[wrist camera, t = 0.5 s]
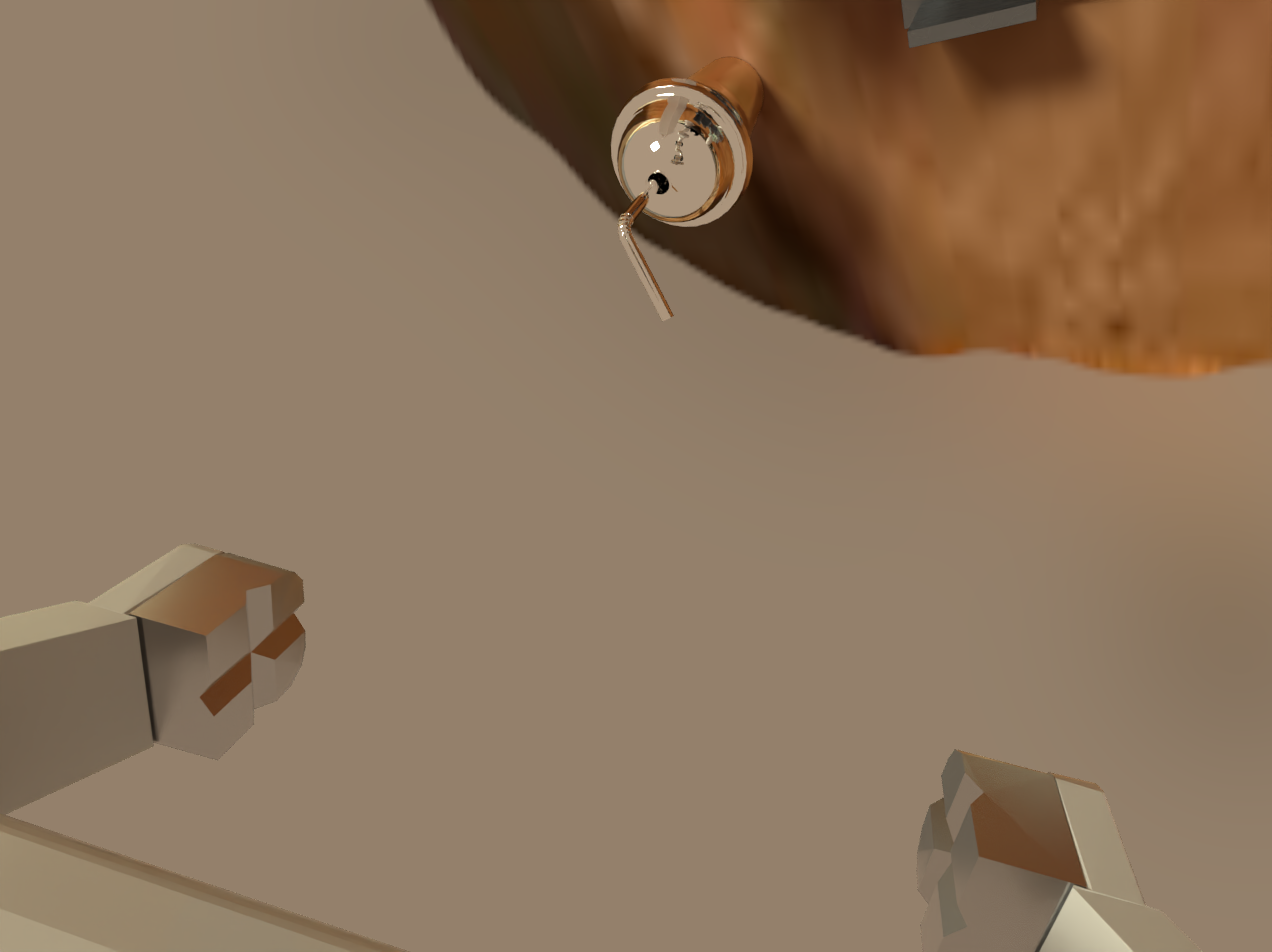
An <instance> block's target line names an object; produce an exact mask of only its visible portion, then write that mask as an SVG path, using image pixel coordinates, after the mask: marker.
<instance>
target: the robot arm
mask: <svg viewBox="0 0 1272 952" xmlns="http://www.w3.org/2000/svg"><path fill="white" fill-rule="evenodd" d="M303 603H304V591H303V580H302V579H301V578H300V577H299V576H298V575H297V574H296V573H295V572H292V571H289V570H286V569H282V568H279V567H276V566H272V565H268V564H265V563H262V562H258V561H255V560H252V559H248V558H245V557H241V556H238V555H235V554H231V553H225V552H223V551H220V550H216V549H212V548H209V547H205V546H202V545H198V544H182V545H180V546H178V547H177V548H175V549H174V550H172V551H171V552H169V553H167V554H166V555H164V556H162V557H161V558H159V559H158V560H156V561H154V562H153V563H151V564H150V565H148V566H146V567H145V568H143V569H142V570H140V571H139V572H137V573H135V574H134V575H132V576H131V577H129V578H127V579H126V580H124V581H123V582H121V583H119V584H118V585H116V586H115V587H113V588H111V589H110V590H108V591H107V592H105V593H104V594H102V595H100V596H99V597H97V598H96V599H94V600H93V601H91V602H89V603H84V602H80V601H72V602H68V603H64V604H59V605H55V606H50V607H46V608H41V609H37V610H32V611H28V612H23V613H19V614H15V615H10V616H6V617H1V618H0V952H409V951H406V950H403V949H400V948H397V947H394V946H392V945H388V944H385V943H382V942H380V941H377V940H374V939H370V938H368V937H365V936H362V935H359V934H356V933H353V932H350V931H347V930H344V929H341V928H338V927H335V926H332V925H329V924H326V923H323V922H320V921H317V920H315V919H312V918H309V917H306V916H303V915H300V914H297V913H294V912H291V911H288V910H285V909H282V908H279V907H276V906H273V905H270V904H267V903H264V902H261V901H258V900H255V899H252V898H249V897H246V896H243V895H240V894H237V893H234V892H232V891H229V890H225V889H223V888H220V887H217V886H213V885H211V884H208V883H205V882H202V881H199V880H196V879H193V878H190V877H187V876H184V875H181V874H178V873H175V872H172V871H169V870H166V869H163V868H161V867H157V866H155V865H152V864H149V863H145V862H143V861H140V860H137V859H134V858H131V857H128V856H125V855H122V854H119V853H116V852H113V851H110V850H107V849H104V848H101V847H98V846H95V845H92V844H89V843H87V842H83V841H80V840H77V839H75V838H72V837H69V836H66V835H63V834H60V833H57V832H54V831H51V830H48V829H45V828H42V827H39V826H36V825H33V824H30V823H27V822H24V821H21V820H18V819H15V818H12V817H10V816H6V814H8V813H10V812H12V811H14V810H16V809H19V808H21V807H23V806H25V805H27V804H29V803H31V802H34V801H36V800H38V799H40V798H42V797H44V796H47V795H49V794H51V793H53V792H56V791H58V790H60V789H62V788H64V787H66V786H69V785H71V784H73V783H75V782H77V781H79V780H81V779H84V778H86V777H88V776H90V775H92V774H95V773H96V772H99V771H101V770H103V769H105V768H108V767H110V766H112V765H114V764H116V763H118V762H121V761H122V760H125V759H127V758H129V757H131V756H134V755H136V754H138V753H140V752H142V751H144V750H147V749H149V748H151V747H153V745H154V744H153V743H157V744H161V745H165V746H168V747H171V748H175V749H179V750H182V751H186V752H190V753H193V754H197V755H200V756H204V757H207V758H211V759H215V760H218V759H220V758H221V756H223V754H225V752H227V751H228V750H229V749H230V748H231V746H232V745H234V744H235V742H236V741H238V740H239V739H240V738H241V737H242V736H243V734H245V733H246V732H247V731H248V729H250V728H251V727H252V725H254V709H256V708H259V707H262V706H264V705H267V704H270V703H273V702H275V701H277V700H278V699H279V698H280V697H281V696H282V695H283V694H284V693H285V692H286V691H287V690H288V688H289V687H290V686H291V685H292V683H293V681H294V679H295V677H296V675H297V673H298V671H299V669H300V668H301V665H302V662H303V657H304V652H305V647H306V646H305V645H306V641H305V630H304V628H303V627H302V625H301V623H300V622H299V620H298V619H297V617H296V616H295V614H294V613H295V612H296V611H297V610H298V608H299V607H300V606H301V605H302V604H303ZM941 777H942V786H943V795H944V798H942V799H940V800H938V801H936V802H935V803H933V804H931V805H930V806H929V809H928V812H927V815H926V818H925V821H924V824H923V827H922V831H921V836H920V842H919V846H918V852H917V884H918V891H919V892H920V894H921V895H922V896H923V898H924V899H925V901H926V902H927V903H928V907H927V910H926V912H925V915H924V917H923V920H922V922H921V925H920V926H921V938H922V950H923V952H1203V951H1202V950H1201V949H1200V948H1199V947H1198V946H1197V945H1196V944H1195V943H1194V942H1193V941H1192V940H1190V938H1189V937H1188V936H1187V935H1186V934H1185V933H1184V932H1182V930H1181V929H1180V928H1178V927H1177V926H1176V925H1175V924H1174V923H1173V922H1172V921H1171V920H1170V919H1169V918H1168V917H1167V916H1166V915H1165V914H1164V913H1163V912H1162V911H1161V910H1157V909H1154V908H1151V907H1147V906H1146V904H1145V902H1144V899H1143V896H1142V893H1141V891H1140V888H1139V885H1138V883H1137V880H1136V877H1135V875H1134V872H1133V869H1132V866H1131V864H1130V861H1129V858H1128V856H1127V853H1126V850H1125V848H1124V845H1123V842H1122V840H1121V837H1120V834H1119V831H1118V829H1117V826H1116V823H1115V821H1114V818H1113V815H1112V813H1111V810H1110V807H1109V805H1108V802H1107V799H1106V797H1105V794H1104V791H1103V790H1102V789H1101V788H1100V787H1099V786H1098V785H1097V784H1096V783H1092V782H1088V781H1083V780H1079V779H1075V778H1071V777H1067V776H1063V775H1059V774H1054V773H1050V772H1048V773H1044V772H1040V771H1036V770H1032V769H1028V768H1024V767H1021V766H1017V765H1013V764H1009V763H1006V762H1002V761H998V760H994V759H991V758H987V757H983V756H979V755H975V754H972V753H968V752H964V751H960V750H956V749H955V750H954V751H953V753H952V754H951V756H950V757H949V758H948V760H947V763H946V765H945V768H944V770H943V773H942V775H941Z"/></svg>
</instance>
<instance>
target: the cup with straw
mask: <svg viewBox="0 0 1272 952" xmlns="http://www.w3.org/2000/svg"><path fill="white" fill-rule="evenodd" d="M763 98H764V91H763V85H762V82H761V79H760V77H759V75H758V73H757V72H756V71H755V70H754V68H753V67H752V66H750V65H749V64H748V63H747V62H745V61H743V60H741V59H738V58H735V57H723V58H719V59H716V60H714V61H713V62H711V63H709V64H708V65H706V66H705V67H703V68H702V69H700V70H699V71H697V72H696V73H694V74H693V75H691V76H690V77H688V78H687V79H682V78H667V79H660V80H657V81H654V82H651V83H648V84H646V85H645V86H643V87H642V88H640V89H639V90H637V91H636V92H635V93H634V94H633V95H632V96H631V97H630V98H629V99H628V100H627V101H626V102H625V104H624V106H623V107H622V109H621V111H620V112H619V115H618V118H617V120H616V123H615V126H614V128H613V132H612V140H611V155H612V161H613V166H614V170H615V173H616V175H617V177H618V180H619V182H620V184H621V186H622V187H623V189H624V191H625V192H626V194H627V196H628V197H629V199H630V200H631V201H632V203H631V204H630V205H629V207H628V208H627V209H626V210H625V211H624V213H623V214H622V215H621V216H620V218H619V220H618V224H617V225H618V227H617V230H618V236H619V239H620V242H621V244H622V246H623V247H624V249H625V251H626V253H627V255H628V257H629V259H630V261H631V263H632V265H633V267H634V269H635V270H636V273H637V274H638V276H639V278H640V280H641V282H642V284H643V286H644V288H645V290H646V292H647V294H648V296H649V298H650V299H651V301H652V303H653V305H654V307H655V309H656V311H657V313H658V315H659V317H660V319H661V321H665V320H667V319H669V318H671V317H672V316H673V313H672V312H671V310H670V308H669V306H668V304H667V302H666V300H665V298H664V296H663V294H662V292H661V290H660V288H659V286H658V284H657V282H656V280H655V278H654V276H653V274H652V273H651V271H650V269H649V267H648V265H647V263H646V261H645V259H644V257H643V255H642V253H641V251H640V249H639V247H638V246H637V243H636V241H635V239H634V237H633V235H632V233H631V225H632V224H633V222H634V221H635V220H636V218H637V217H638V216H639V214H640V213H641V212H644V213H645V214H647V215H649V216H650V217H652V218H655V219H657V220H659V221H662V222H665V223H667V224H670V225H676V226H682V227H690V226H699V225H703V224H708V223H710V222H712V221H714V220H716V219H718V218H720V217H721V216H723V215H724V214H726V213H727V212H728V211H729V210H731V209H732V208H733V207H734V206H735V205H736V204H737V203H738V201H739V200H740V199H741V198H742V196H743V194H744V192H745V190H746V188H747V187H748V184H749V181H750V177H751V173H752V164H753V154H752V146H751V141H750V136H751V133H752V131H753V128H754V126H755V123H756V121H757V118H758V115H759V112H760V110H761V108H762V104H763Z"/></svg>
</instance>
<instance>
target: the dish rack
mask: <svg viewBox="0 0 1272 952" xmlns="http://www.w3.org/2000/svg"><path fill="white" fill-rule="evenodd" d="M901 2H902V10H903V19H904V28H905V29H907V28H909V30H908V32H907V33H908V41H909V48H912V47H916V46H921V45H925V44H930V43H934V42H939V41H943V40H948V39H952V38H957V37H961V36H966V35H970V34H975V33H979V32H984V31H988V30H993V29H997V28H1002V27H1006V26H1011V25H1015V24H1020V23H1024V22H1029V21H1033V20H1036V19H1037V12H1038V6H1039V0H901Z"/></svg>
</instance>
